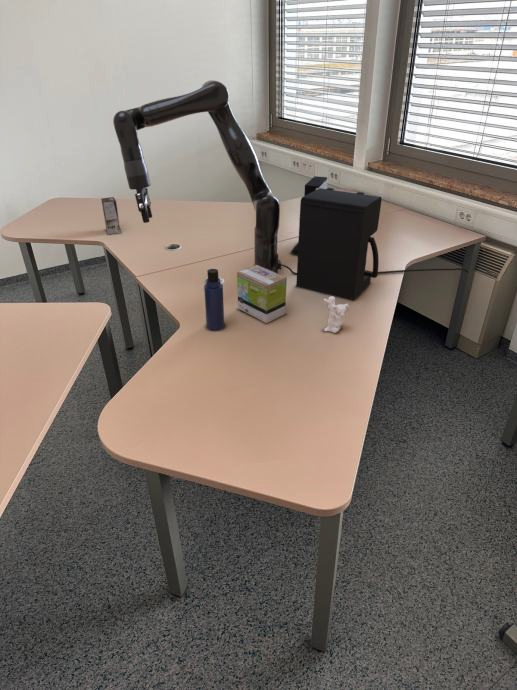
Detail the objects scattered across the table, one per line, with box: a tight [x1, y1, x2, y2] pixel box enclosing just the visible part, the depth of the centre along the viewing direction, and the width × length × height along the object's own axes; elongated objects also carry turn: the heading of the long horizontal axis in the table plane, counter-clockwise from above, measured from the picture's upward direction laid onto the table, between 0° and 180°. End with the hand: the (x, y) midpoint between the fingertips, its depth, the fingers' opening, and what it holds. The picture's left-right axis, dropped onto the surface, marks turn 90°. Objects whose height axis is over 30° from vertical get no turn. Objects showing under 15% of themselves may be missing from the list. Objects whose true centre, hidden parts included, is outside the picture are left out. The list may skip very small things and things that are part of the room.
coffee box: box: [100, 196, 121, 235], centre depth 244 cm, size 9×6×16 cm
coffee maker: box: [295, 187, 383, 301], centre depth 183 cm, size 28×20×35 cm
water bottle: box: [203, 268, 225, 332], centre depth 158 cm, size 6×6×20 cm
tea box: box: [236, 265, 288, 324], centre depth 169 cm, size 15×10×15 cm, turn 44°
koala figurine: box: [323, 295, 350, 334], centre depth 159 cm, size 8×7×12 cm
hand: (148, 220), depth 176 cm, fingers open, 8 cm apart
